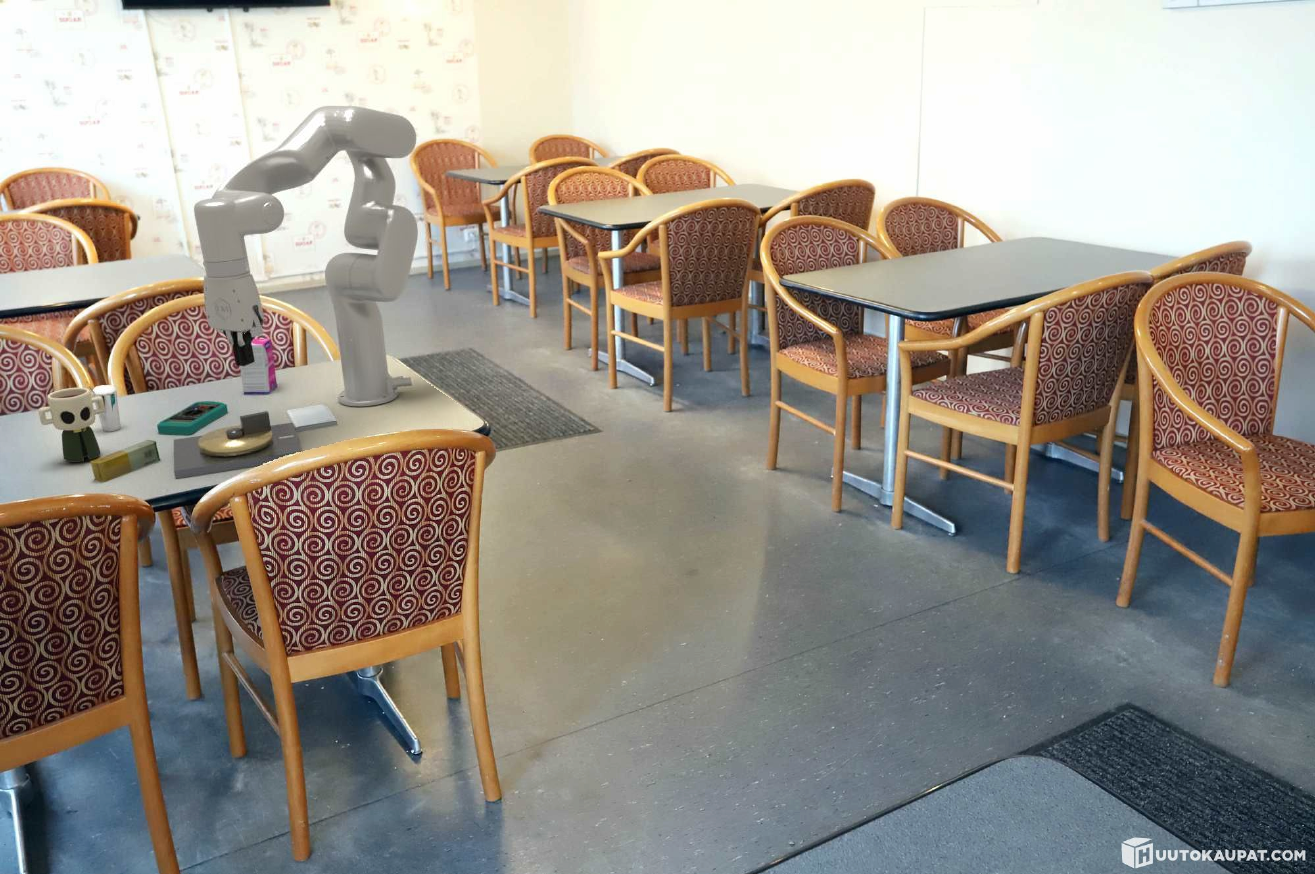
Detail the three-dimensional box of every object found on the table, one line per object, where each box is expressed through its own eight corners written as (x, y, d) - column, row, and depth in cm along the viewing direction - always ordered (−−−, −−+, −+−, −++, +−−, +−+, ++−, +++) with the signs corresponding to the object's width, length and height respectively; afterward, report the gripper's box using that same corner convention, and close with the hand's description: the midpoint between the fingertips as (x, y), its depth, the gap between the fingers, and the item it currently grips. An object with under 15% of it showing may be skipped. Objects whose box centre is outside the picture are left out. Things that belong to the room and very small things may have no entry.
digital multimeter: (230, 413, 225) (228, 400, 224) (190, 437, 211) (188, 423, 210) (198, 412, 226) (196, 399, 225) (157, 436, 212) (154, 422, 211)
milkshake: (91, 433, 214) (80, 385, 210) (112, 424, 218) (102, 378, 215) (108, 435, 212) (98, 387, 209) (129, 426, 217) (119, 379, 213)
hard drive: (337, 420, 215) (325, 403, 225) (295, 427, 211) (285, 409, 222) (338, 427, 215) (326, 410, 226) (296, 434, 212) (286, 417, 222)
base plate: (293, 429, 213) (292, 421, 212) (303, 458, 197) (302, 450, 197) (175, 446, 205) (173, 438, 204) (175, 478, 189) (173, 469, 189)
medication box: (152, 459, 200) (147, 439, 198) (161, 460, 198) (157, 440, 197) (93, 481, 190) (88, 460, 188) (103, 483, 189) (98, 462, 187)
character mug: (55, 471, 194) (40, 403, 190) (46, 461, 199) (31, 395, 195) (119, 456, 201) (105, 391, 196) (108, 446, 206) (95, 382, 201)
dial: (281, 445, 199) (277, 420, 197) (209, 461, 192) (204, 435, 190) (261, 427, 209) (257, 403, 207) (192, 441, 202) (187, 417, 200)
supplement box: (269, 394, 236) (261, 344, 232) (243, 394, 236) (235, 344, 232) (278, 386, 241) (271, 337, 237) (252, 387, 241) (245, 338, 237)
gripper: (181, 270, 193) (200, 366, 200) (243, 275, 187) (261, 374, 194) (212, 261, 199) (230, 354, 206) (273, 266, 193) (290, 362, 200)
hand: (245, 363), depth 200 cm, fingers closed
